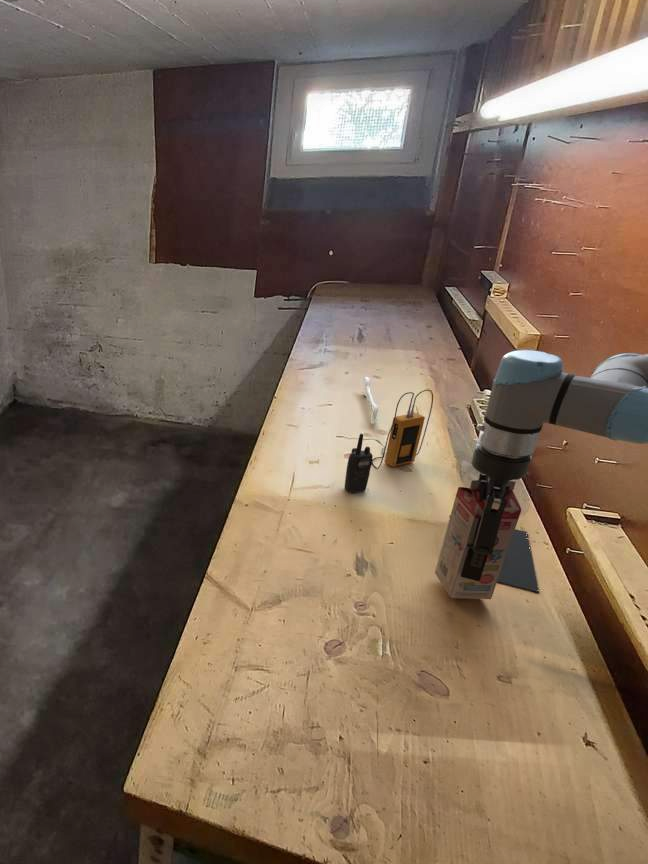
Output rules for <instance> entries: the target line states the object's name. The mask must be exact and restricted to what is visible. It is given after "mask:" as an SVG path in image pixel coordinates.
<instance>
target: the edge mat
mask: <svg viewBox="0 0 648 864" xmlns="http://www.w3.org/2000/svg"><path fill="white" fill-rule="evenodd" d="M526 533H528V531H525V530H521V529H517V528H515V531H514V534H513V536H512V539H511V542H510V545H509V548H508V551H507V554H506V557H505V560H504V563H503V566H502V569H501V572H500V575H499V577H498V580H497V583H498V584H502V585H506V586H510V587H514V588H518V589H521V588H522V589H523V590H525V589H526V591H529V590H531V591H530V592H533V591H535V592H534V593H537V592H539V593H540V590H539V585H538V579H537V575H535V574H536V569H535V564H534V559H533V555H532V554H533V553H532V549H531V545H530V546H529V544H530V539H529V534H526ZM526 535H527V536H526ZM526 538H528V539H529V540H528V539H526ZM528 541H529V543H528ZM529 547H530V549H529ZM530 550H531V551H530ZM537 586H538V587H537ZM522 589H521V590H522ZM537 590H539V591H537ZM536 591H537V592H536Z"/></svg>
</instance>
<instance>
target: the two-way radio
mask: <svg viewBox="0 0 648 864" xmlns="http://www.w3.org/2000/svg"><path fill="white" fill-rule="evenodd" d="M363 440H364V433H359V436H358V441H357V445H356V447H353V448H351V453H350V454H349V456H348V460H347V465H346V471H345V480H344V489H345V490H346V492H349V493H359V492H365V491H366V490H367V486H368V484H369V483H368V482H369V479H370V473H371V468H372V463H373V461H372V460H373V459H374V458H373V457H374V456H373V454H372V452H371V447H370V446H365V447H364V450H362V447H363Z"/></svg>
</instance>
